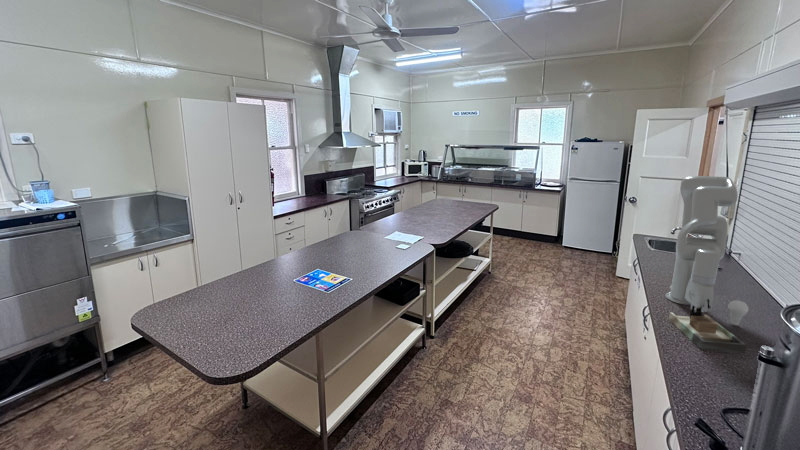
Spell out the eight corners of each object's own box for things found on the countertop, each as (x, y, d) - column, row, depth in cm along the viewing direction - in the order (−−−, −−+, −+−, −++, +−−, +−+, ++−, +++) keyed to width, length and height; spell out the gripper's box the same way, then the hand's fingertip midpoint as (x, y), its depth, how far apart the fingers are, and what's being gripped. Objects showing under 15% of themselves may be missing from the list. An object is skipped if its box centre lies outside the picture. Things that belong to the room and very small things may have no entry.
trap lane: (668, 319, 153) (669, 312, 152) (705, 321, 150) (706, 314, 149) (701, 349, 131) (702, 341, 130) (745, 353, 128) (747, 345, 127)
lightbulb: (725, 325, 146) (730, 302, 144) (723, 319, 151) (728, 296, 148) (745, 330, 143) (750, 306, 140) (743, 324, 147) (748, 300, 145)
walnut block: (689, 324, 145) (690, 315, 144) (706, 325, 143) (707, 316, 142) (697, 331, 139) (699, 322, 138) (715, 333, 138) (717, 324, 137)
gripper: (681, 271, 149) (674, 310, 154) (703, 285, 135) (695, 328, 140) (702, 272, 148) (694, 312, 152) (726, 287, 134) (717, 329, 138)
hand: (694, 319), depth 146 cm, fingers closed
